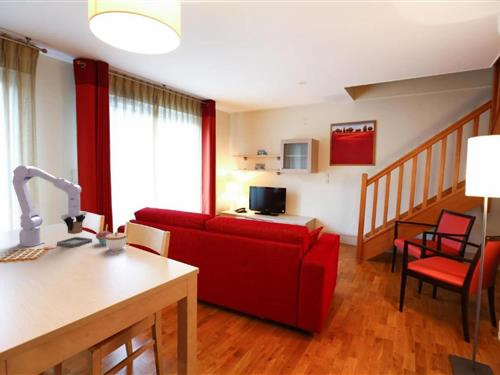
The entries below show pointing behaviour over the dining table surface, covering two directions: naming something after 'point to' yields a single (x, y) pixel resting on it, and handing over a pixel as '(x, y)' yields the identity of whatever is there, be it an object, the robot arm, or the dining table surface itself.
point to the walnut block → (76, 228)
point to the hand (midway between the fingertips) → (74, 229)
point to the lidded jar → (116, 241)
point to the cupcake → (102, 236)
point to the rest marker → (50, 247)
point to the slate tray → (74, 241)
